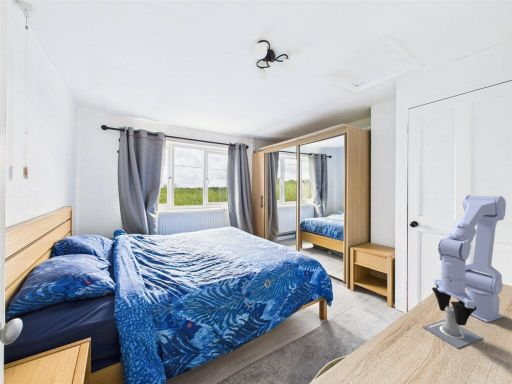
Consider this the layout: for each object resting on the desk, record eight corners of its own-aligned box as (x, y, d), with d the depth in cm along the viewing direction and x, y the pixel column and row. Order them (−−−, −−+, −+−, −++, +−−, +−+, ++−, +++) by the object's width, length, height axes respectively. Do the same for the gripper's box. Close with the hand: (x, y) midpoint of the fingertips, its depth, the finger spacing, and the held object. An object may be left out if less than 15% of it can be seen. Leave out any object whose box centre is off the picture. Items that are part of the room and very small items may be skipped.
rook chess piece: (463, 337, 68) (463, 313, 68) (445, 334, 70) (446, 310, 69) (455, 328, 72) (456, 305, 72) (439, 326, 74) (439, 303, 74)
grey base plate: (446, 319, 78) (446, 318, 78) (482, 338, 68) (482, 337, 68) (422, 327, 74) (422, 326, 74) (457, 348, 65) (457, 347, 64)
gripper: (425, 267, 78) (424, 303, 79) (456, 286, 64) (455, 331, 64) (447, 267, 77) (446, 305, 78) (483, 287, 63) (482, 333, 63)
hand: (451, 317), depth 71 cm, fingers open, 7 cm apart
